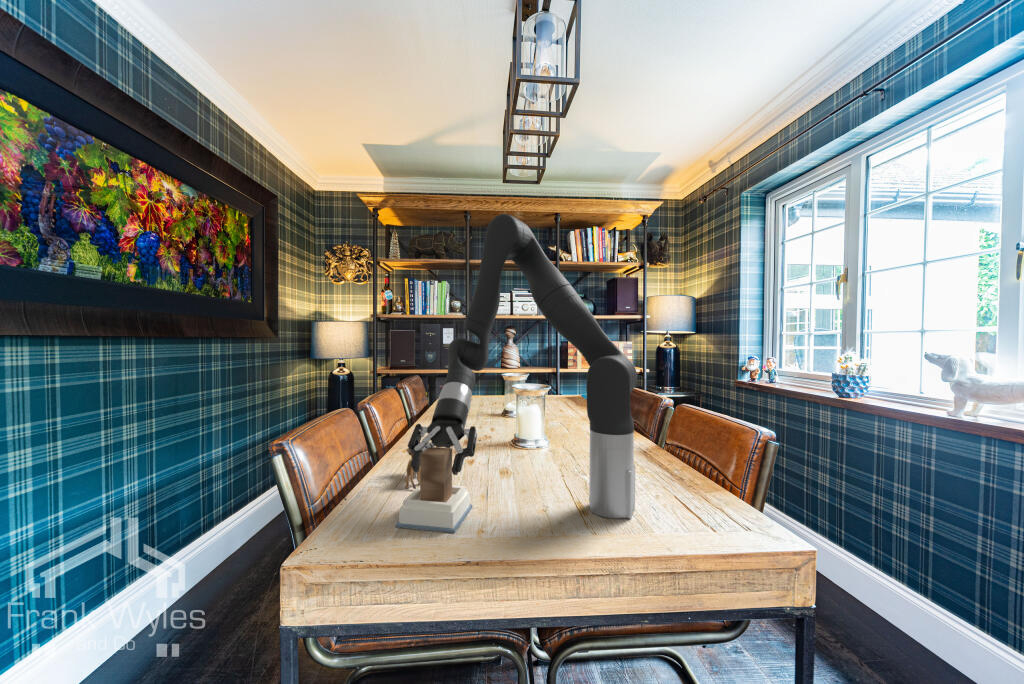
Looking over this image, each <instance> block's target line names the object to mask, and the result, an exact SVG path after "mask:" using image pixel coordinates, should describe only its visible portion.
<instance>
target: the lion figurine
mask: <svg viewBox="0 0 1024 684" xmlns="http://www.w3.org/2000/svg"><path fill="white" fill-rule="evenodd" d="M406 453H407V454H408V456H410V457H411V459H409V460H408V462H407V466H406V479H405V487H404V488H405V489H409V488H410V487H411V485H412V489H413V490H416V489H417V486H416V484H415V483H414V478H416V477H417V478H416V481H417V483H418V485H420V468H419V471H418V472H414V471H413V469H412V467H411V461H412V458H413V455H414V453H411V451H410V449H409V448H408V447H407V449H406ZM413 477H414V478H413ZM410 482H411V485H410Z"/></svg>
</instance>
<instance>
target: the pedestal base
mask: <svg viewBox="0 0 1024 684" xmlns="http://www.w3.org/2000/svg"><path fill="white" fill-rule="evenodd" d="M470 498H471V495H470V491H468V487H467V486H463V485H461V486H460V485H452V496H451V497H450V498H449V500H448V501H447V502H434V501H422V500H420V486H418V487H416V489H414V491H413V492H412V493H411V494H409V495H408V496H407V497H406V498H405V499H403V500H402V505H401V506H400V507H399V512H398V513H399V514H398V516H399V520H398V521H397V522H396V524H395V528H400V527H401V528H400V529H402V528H403V529H409V530H410V529H412V530H421V531H432V532H440V533H441V532H442V533H453V534H455V533H456V531H457V530H458V529H459V527H460V526H461V525H462V524H463V522H464V521H465V519H466V518H467V516H468V515H469V514H470V512H471V510H472V509H473V507H474V506H473V505H474V504H472V503H471V502H470V500H471V499H470ZM470 503H471V504H470Z"/></svg>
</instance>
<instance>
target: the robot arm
mask: <svg viewBox="0 0 1024 684" xmlns="http://www.w3.org/2000/svg"><path fill="white" fill-rule="evenodd" d="M508 258H509V259H510V260H511V262H513V263H514V264H515V266H517V268H518V269H519V270H520V271H521V273H522V274H523V275H524V277H525V279H526V282H527V285H528V287H529V289H530V293H531V297H532V299H533V302H534V303H535V305H536V306H537V308H538V309H539V311H540V312H541V314H542V316H544V318H545V319H546V321H547V322H548V323H549V325H550V326H551V327H552V328H553V329H554V330H555V331H556V332H557V333H558V334H560V335H561V336H562V337H563V338H564V339H565V340H566V341H568V343H570V344H571V345H572V346H573V347H575V348H576V350H577V351H578V352H579V353H580V354H581V355H582V357H583V358H584V360H585V361H586V363H587V364H588V366H589V367H588V370H587V373H586V380H585V381H586V383H585V384H586V386H585V387H586V389H585V390H586V392H585V393H586V413H587V419H588V421H589V483H588V484H589V485H588V486H589V487H588V488H589V491H588V492H589V497H588V500H589V503H588V504H589V510H590V511H591V512H592V513H593V514H595V515H597V516H601V517H604V518H608V519H632V516H633V514H634V511H635V509H636V465H635V464H634V454H635V452H634V451H635V449H634V447H635V446H634V445H635V439H634V438H635V421H634V417H633V416H632V409H631V393H632V392H633V390H634V389H635V387H636V386H637V383H638V373H637V370H636V366H635V365H634V364H633V362H632V361H631V360H630V359H629V358H628V357H627V356H626V355H625V354H624V352H623V351H621V350H620V349H619V347H618V346H617V345H616V344H615V343H614V342H613V340H611V338H609V336H608V335H607V334H606V333H605V332H604V331H603V329H602V328H601V326H600V324H599V322H598V321H597V319H596V318H595V316H594V315H593V313H592V312H591V311H590V309H589V308H588V306H587V305H586V304H585V302H584V301H583V299H582V298H581V296H580V295H579V294H578V293H577V291H576V289H574V287H573V286H572V285H571V283H570V282H569V280H567V278H566V277H565V276H564V275H563V274H562V272H561V271H560V270H559V269H558V268H557V267H556V266H555V265H554V263H552V261H551V260H550V259H549V258H548V256H547V254H545V252H544V250H543V248H542V247H541V245H540V243H539V242H538V240H537V239H536V236H535V234H534V233H533V232H532V230H531V229H530V227H529V226H528V225H527V224H526V223H525V222H523V221H522V220H520V219H518V218H517V217H515V216H513V215H511V214H508V213H507V214H506V213H503V214H502V213H501V214H498V215H496V216H495V217H494V218H492V219H491V221H490V222H489V224H488V226H487V229H486V233H485V238H484V243H483V248H482V255H481V258H480V260H481V261H480V266H479V272H478V275H477V276H478V277H477V282H476V286H475V290H474V294H473V296H472V300H471V303H470V305H469V308H468V311H467V314H466V316H465V317H466V318H465V321H464V324H463V325H464V329H466V331H468V332H470V333H472V334H473V335H474V336H476V337H477V338H478V340H479V342H475V341H472V340H469V339H466V338H463V337H456V338H454V339H453V340H451V342H450V343H449V346H448V349H447V374H446V378H445V380H444V383H443V387H442V389H441V391H440V392H439V393H440V394H439V395H438V400H437V402H436V406H435V407H434V408H435V409H434V412H433V415H432V417H431V422H430V424H429V425H428V426H422V424H420V423H417V424H415V427H414V429H413V431H412V433H411V437H410V439H409V441H408V443H407V449H408V448H409V449H410V451H411V453H414V455H413V458H412V461H411V467H412V469H413V471H414V472H418V471H419V468H420V453H422V452H423V451H425V450H426V449H428V448H429V447H437V448H451V447H453V448H454V449H455V451H456V454H455V456H454V459H453V462H452V476H453V475H454V476H457V475H458V474H459V473H460V472H462V468H463V465H464V460H465V458H467V457H469V458H473V457H474V455H475V452H476V448H477V447H476V446H477V439H478V432H477V429H476V427H475V426H470V428H465V427H466V424H467V419H468V416H469V411H470V410H471V404H472V394H473V391H474V387H475V384H476V374H475V372H480V371H482V370H483V369H485V367H486V366H487V364H488V362H489V349H490V347H489V346H490V337H491V333H492V329H493V325H494V323H495V319H496V317H497V314H498V312H499V307H500V304H501V303H500V301H501V280H502V273H503V269H504V266H505V263H506V260H507V259H508ZM425 434H427V435H426V436H425ZM465 436H466V438H467V443H466V447H465V448H463V447H462V445H461V443H460V441H461V440H462V439H463V438H464V437H465Z"/></svg>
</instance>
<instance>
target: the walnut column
mask: <svg viewBox="0 0 1024 684" xmlns="http://www.w3.org/2000/svg"><path fill="white" fill-rule="evenodd" d="M452 466H453V448H451V447H450V448H446V447H436V446H435V447H429V448H428V449H426V450H425V451H423V452H422V453H420V484H419V487H420V500H422V501H434V502H447V501H448V500H449V498H450V497H451V496H452V486H453V473H452Z"/></svg>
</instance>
